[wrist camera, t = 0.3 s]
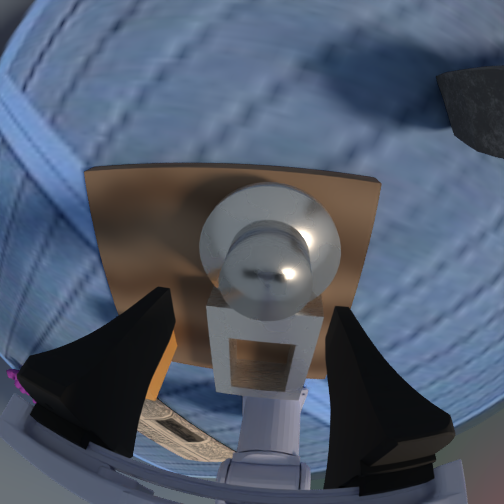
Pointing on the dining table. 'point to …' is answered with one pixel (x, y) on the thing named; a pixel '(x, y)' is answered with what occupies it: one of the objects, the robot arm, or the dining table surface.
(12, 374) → the purple coral
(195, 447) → the newspaper
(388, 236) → the dining table surface
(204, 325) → the board
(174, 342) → the tan rectangular prism
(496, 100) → the hammer
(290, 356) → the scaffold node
